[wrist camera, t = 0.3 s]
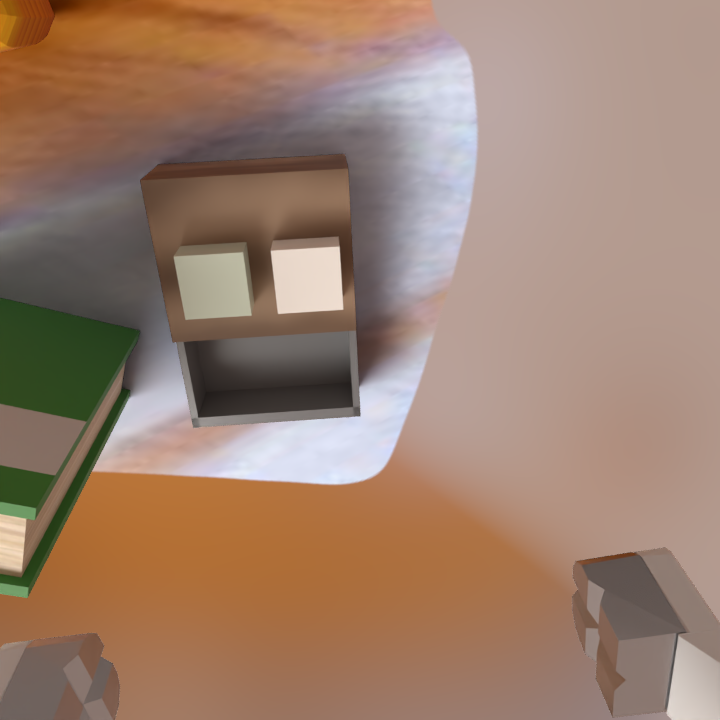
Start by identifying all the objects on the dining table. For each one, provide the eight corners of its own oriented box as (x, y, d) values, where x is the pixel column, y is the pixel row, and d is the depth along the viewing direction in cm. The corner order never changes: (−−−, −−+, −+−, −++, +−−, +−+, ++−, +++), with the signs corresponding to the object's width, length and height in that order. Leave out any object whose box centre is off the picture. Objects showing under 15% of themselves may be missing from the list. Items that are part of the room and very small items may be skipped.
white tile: (272, 240, 48) (270, 250, 46) (338, 236, 48) (339, 246, 46) (279, 301, 51) (277, 313, 48) (342, 297, 51) (343, 309, 48)
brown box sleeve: (158, 164, 51) (139, 180, 46) (344, 154, 51) (348, 168, 46) (186, 313, 57) (172, 342, 52) (352, 302, 57) (356, 330, 52)
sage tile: (180, 246, 48) (173, 256, 46) (246, 241, 48) (243, 252, 46) (191, 306, 50) (185, 319, 48) (254, 302, 50) (251, 315, 48)
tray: (186, 313, 57) (175, 337, 53) (352, 302, 57) (355, 325, 53) (202, 398, 61) (193, 427, 57) (357, 388, 62) (360, 416, 57)
